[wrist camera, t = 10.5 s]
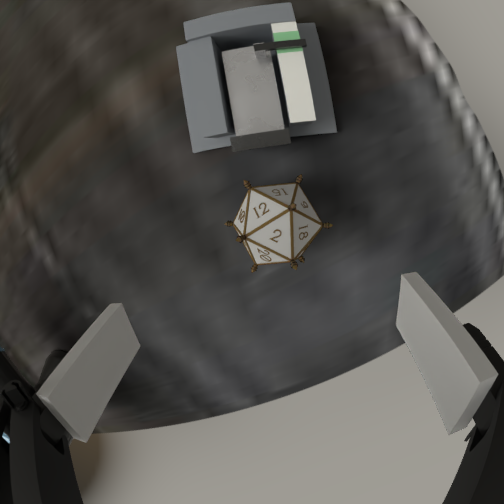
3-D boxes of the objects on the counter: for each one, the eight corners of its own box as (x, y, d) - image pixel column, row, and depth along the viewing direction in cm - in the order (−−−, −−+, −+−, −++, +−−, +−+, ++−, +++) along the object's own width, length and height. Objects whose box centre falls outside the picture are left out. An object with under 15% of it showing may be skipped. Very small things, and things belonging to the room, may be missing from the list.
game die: (292, 214, 32) (327, 287, 26) (219, 225, 30) (241, 307, 24) (307, 149, 25) (360, 224, 19) (218, 155, 23) (247, 242, 17)
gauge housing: (196, 152, 27) (174, 155, 21) (179, 49, 22) (156, 31, 17) (334, 132, 25) (349, 130, 19) (313, 26, 20) (320, 1, 15)
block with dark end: (240, 150, 25) (230, 152, 20) (225, 62, 22) (212, 45, 17) (315, 140, 24) (324, 140, 19) (299, 51, 21) (303, 31, 16)
